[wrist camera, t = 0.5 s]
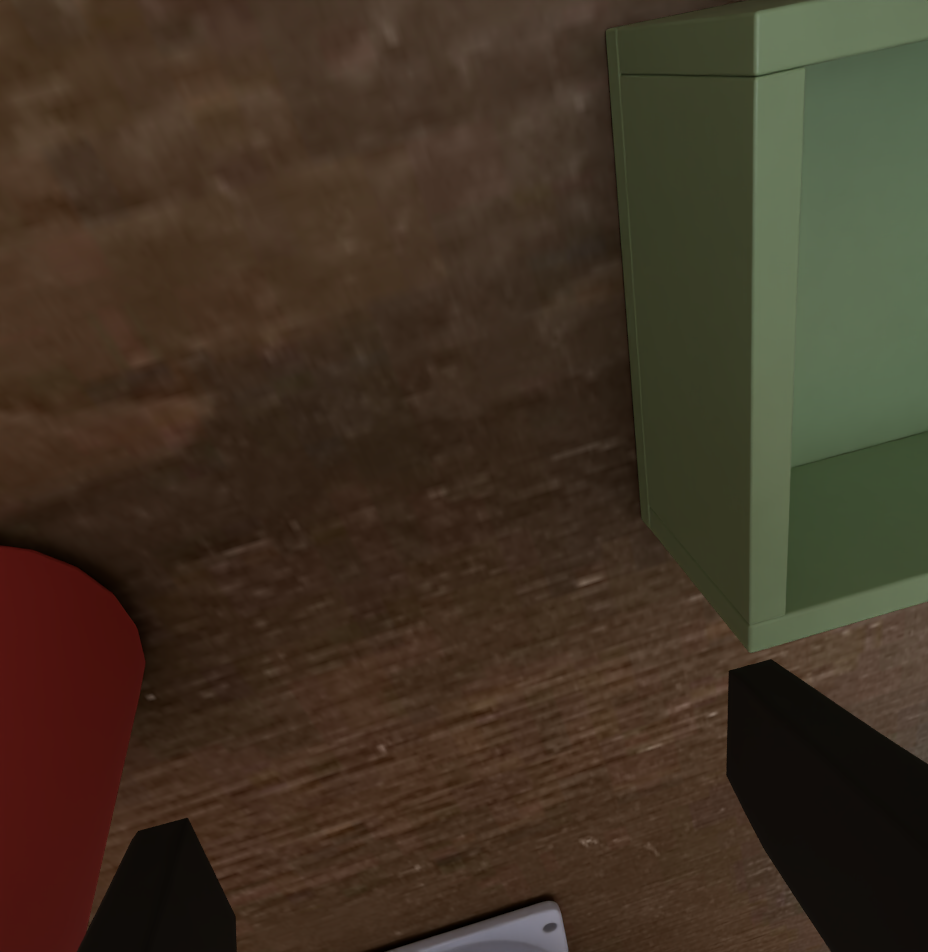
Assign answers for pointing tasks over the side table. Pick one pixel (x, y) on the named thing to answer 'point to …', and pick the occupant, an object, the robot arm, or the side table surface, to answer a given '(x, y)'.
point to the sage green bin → (780, 302)
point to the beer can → (59, 743)
